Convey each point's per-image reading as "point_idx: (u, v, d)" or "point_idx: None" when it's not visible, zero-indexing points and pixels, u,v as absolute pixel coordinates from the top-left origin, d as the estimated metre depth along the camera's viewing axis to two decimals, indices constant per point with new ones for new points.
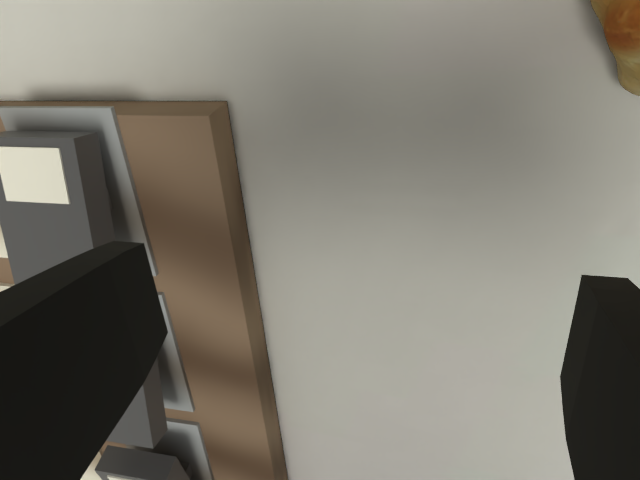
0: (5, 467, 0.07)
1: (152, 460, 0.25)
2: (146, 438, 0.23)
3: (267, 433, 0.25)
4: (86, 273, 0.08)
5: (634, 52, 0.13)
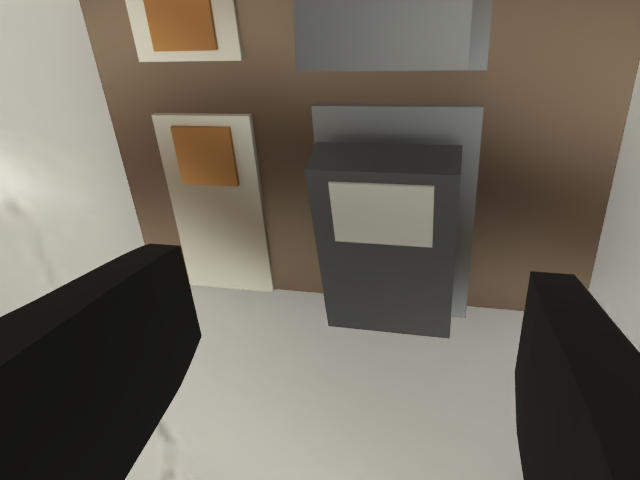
0: (51, 476, 0.07)
1: (416, 152, 0.13)
2: (456, 45, 0.11)
3: (626, 112, 0.13)
4: (128, 276, 0.08)
5: None
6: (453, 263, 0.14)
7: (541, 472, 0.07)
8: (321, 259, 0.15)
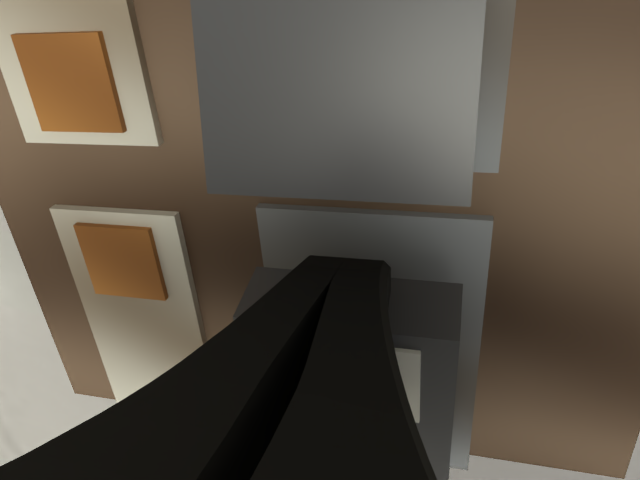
0: None
1: (396, 293, 0.09)
2: (452, 168, 0.07)
3: None
4: (318, 294, 0.07)
5: None
6: (449, 442, 0.10)
7: None
8: None
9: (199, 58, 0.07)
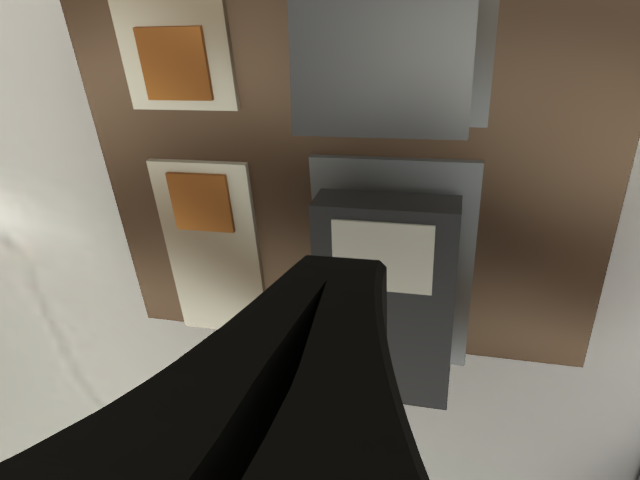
0: None
1: (418, 198, 0.13)
2: (456, 115, 0.10)
3: (629, 171, 0.13)
4: (314, 293, 0.07)
5: None
6: (452, 315, 0.13)
7: None
8: None
9: (291, 44, 0.11)
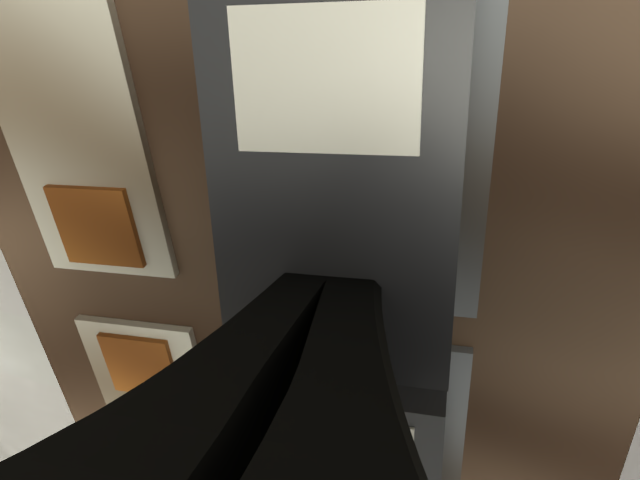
0: None
1: None
2: (432, 362, 0.08)
3: None
4: (314, 293, 0.07)
5: None
6: None
7: None
8: None
9: (219, 264, 0.08)
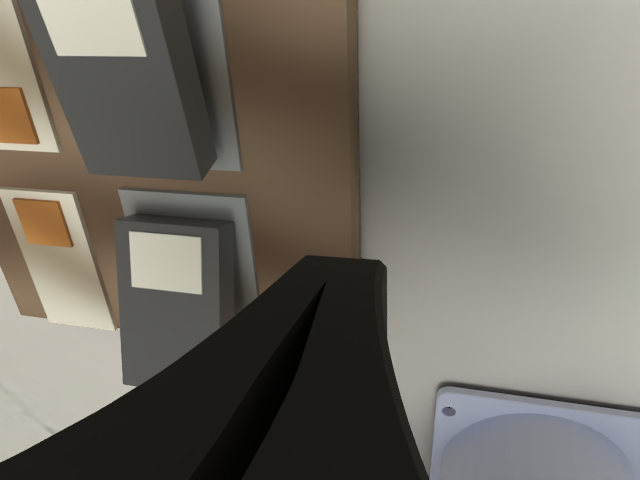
0: None
1: (199, 221, 0.17)
2: (189, 166, 0.15)
3: (352, 206, 0.17)
4: (314, 293, 0.07)
5: None
6: (218, 312, 0.17)
7: None
8: (121, 307, 0.18)
9: (67, 118, 0.15)
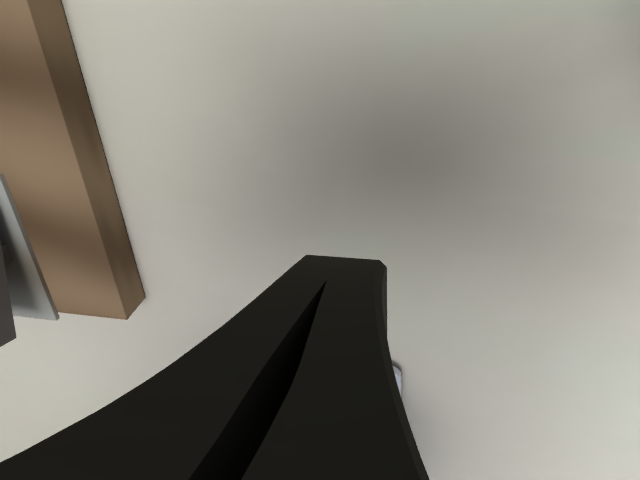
0: None
1: None
2: None
3: (87, 181, 0.19)
4: (314, 293, 0.07)
5: None
6: None
7: None
8: None
9: None
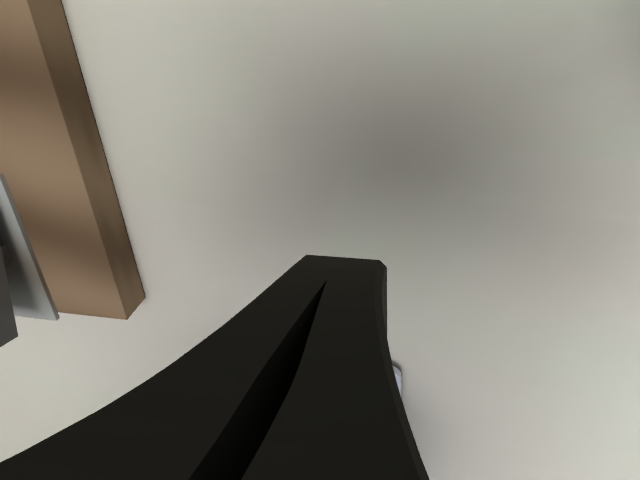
0: None
1: None
2: None
3: (87, 181, 0.19)
4: (314, 293, 0.07)
5: None
6: None
7: None
8: None
9: None
